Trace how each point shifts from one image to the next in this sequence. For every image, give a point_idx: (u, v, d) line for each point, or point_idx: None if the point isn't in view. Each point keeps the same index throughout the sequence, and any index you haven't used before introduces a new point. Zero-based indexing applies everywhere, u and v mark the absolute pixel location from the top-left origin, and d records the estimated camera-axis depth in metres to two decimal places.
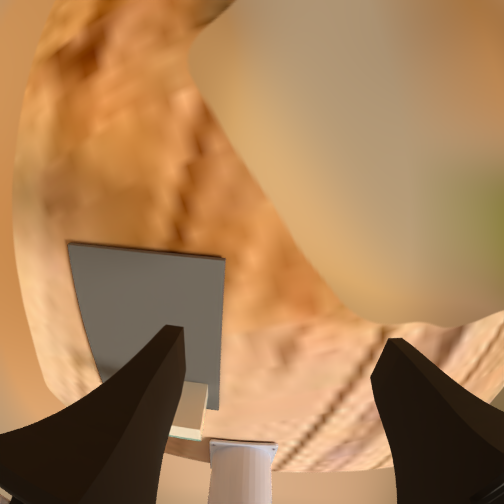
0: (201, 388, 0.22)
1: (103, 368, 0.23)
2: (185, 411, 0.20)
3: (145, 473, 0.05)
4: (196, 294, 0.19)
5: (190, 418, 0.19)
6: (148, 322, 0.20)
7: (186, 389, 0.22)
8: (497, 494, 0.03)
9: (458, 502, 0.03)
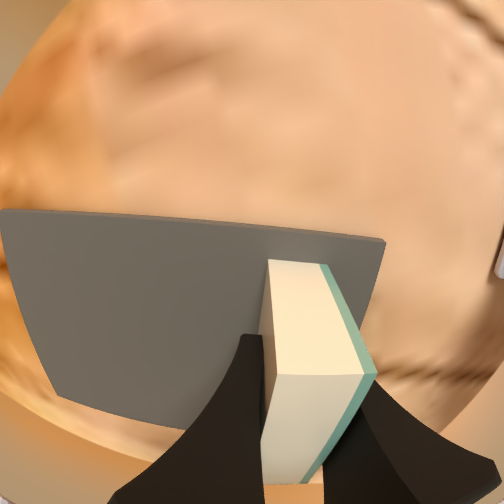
0: (266, 281, 0.09)
1: None
2: (265, 364, 0.07)
3: None
4: (41, 254, 0.10)
5: (268, 368, 0.06)
6: (112, 341, 0.11)
7: (262, 319, 0.09)
8: None
9: None
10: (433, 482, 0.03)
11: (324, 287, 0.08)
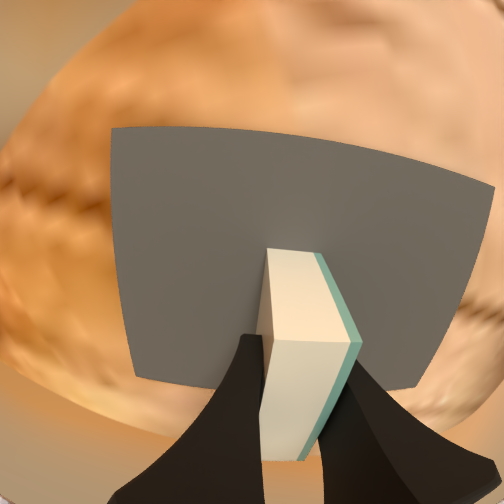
0: (265, 267, 0.10)
1: None
2: (264, 339, 0.08)
3: None
4: (180, 178, 0.09)
5: (267, 340, 0.07)
6: (257, 285, 0.11)
7: (262, 303, 0.10)
8: None
9: None
10: (434, 482, 0.03)
11: (317, 272, 0.09)
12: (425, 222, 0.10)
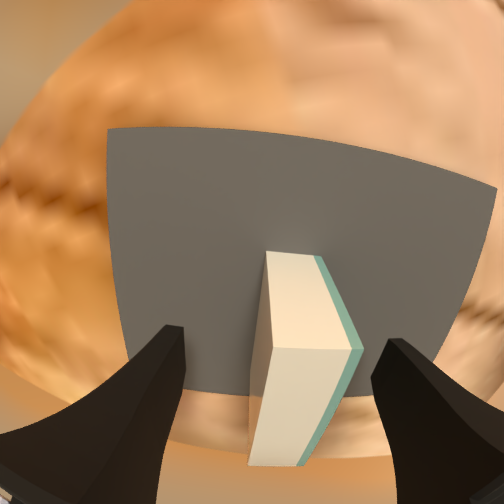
0: (264, 270, 0.10)
1: (371, 386, 0.13)
2: (263, 345, 0.08)
3: (145, 473, 0.05)
4: (178, 180, 0.09)
5: (266, 347, 0.07)
6: (256, 289, 0.11)
7: (261, 307, 0.10)
8: (497, 494, 0.03)
9: (458, 502, 0.03)
10: None
11: (317, 275, 0.09)
12: (427, 225, 0.10)
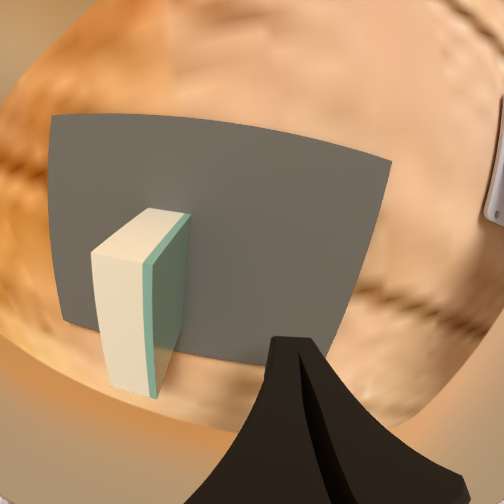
0: None
1: (264, 355, 0.15)
2: None
3: None
4: (90, 152, 0.11)
5: None
6: None
7: None
8: None
9: None
10: (388, 496, 0.03)
11: (170, 224, 0.11)
12: (296, 192, 0.12)
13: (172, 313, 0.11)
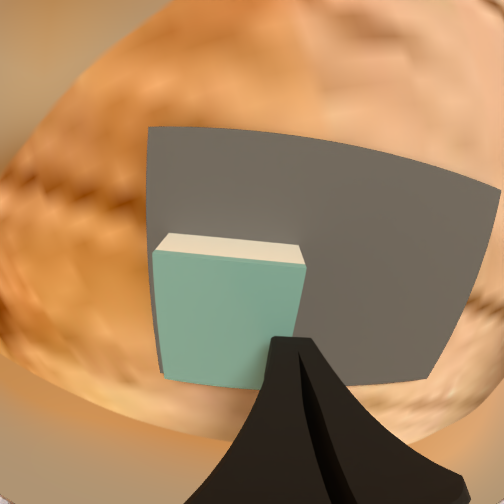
0: None
1: (387, 374, 0.14)
2: None
3: None
4: (219, 178, 0.10)
5: None
6: None
7: None
8: None
9: None
10: (387, 496, 0.03)
11: (256, 257, 0.09)
12: (439, 222, 0.10)
13: (227, 346, 0.10)
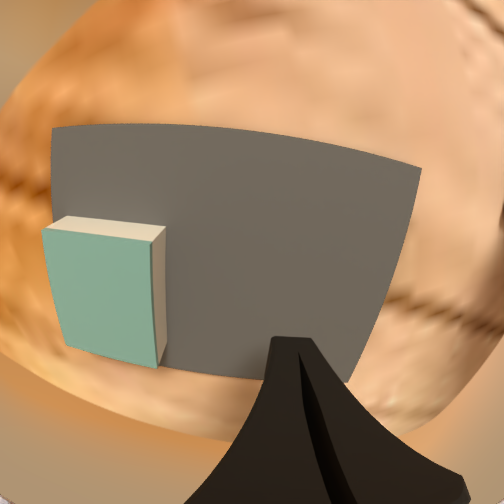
0: None
1: None
2: None
3: None
4: (98, 167, 0.10)
5: None
6: None
7: None
8: None
9: None
10: (388, 496, 0.03)
11: (114, 234, 0.10)
12: (328, 204, 0.11)
13: (102, 316, 0.11)
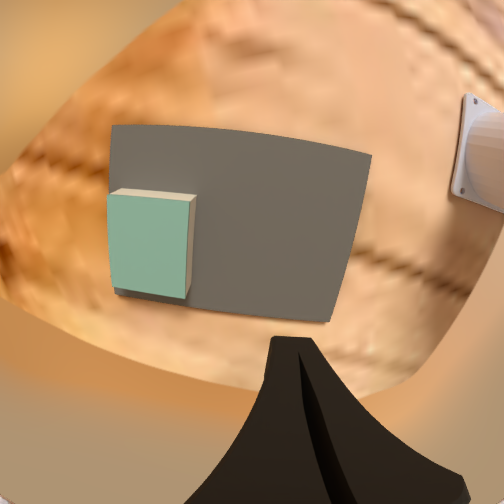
0: None
1: (285, 309, 0.20)
2: None
3: None
4: (149, 154, 0.16)
5: None
6: None
7: None
8: None
9: None
10: (388, 496, 0.03)
11: (163, 197, 0.15)
12: (305, 180, 0.16)
13: (148, 257, 0.16)
